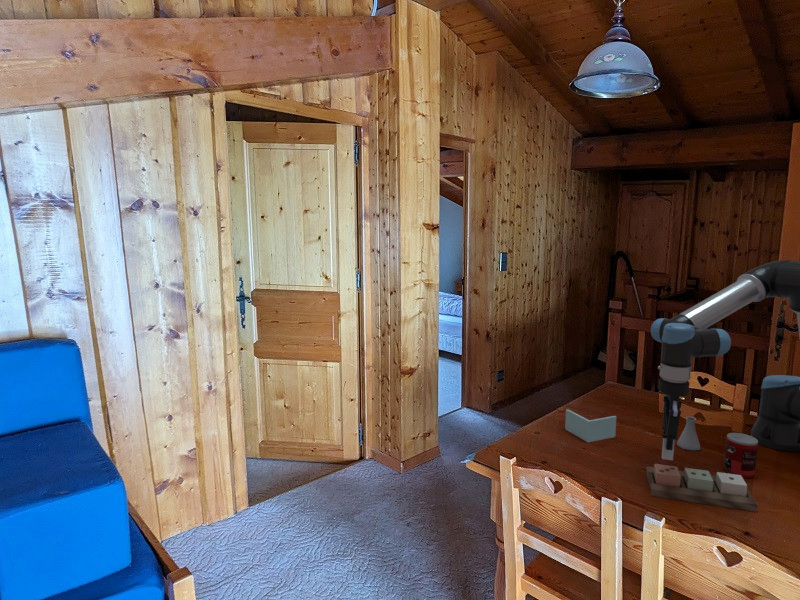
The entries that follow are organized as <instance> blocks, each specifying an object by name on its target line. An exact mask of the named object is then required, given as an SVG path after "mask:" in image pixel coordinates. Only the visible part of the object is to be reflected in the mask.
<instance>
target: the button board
mask: <svg viewBox="0 0 800 600" xmlns="http://www.w3.org/2000/svg"><path fill="white" fill-rule="evenodd" d="M678 471H679V473H680V476H681V479H680V487H675V486H668V485H662V484H656V483H655V478H654V466H647V465H646V467H645V474H646V478H647V482H648V486H649V487H648V488H649V491H650V495H651V497H658V498H663V499H670V500H671V499H672V500H675V501H676V500H677V501H683V502H690V503H697V504H703V505H710V506H716V507H723V508H730V509H735V510H741V511H742V510H743V511H750V512H755V513H757V512H758V511H757V510H758V503H757V502H756V500H755V498H754V497H753V495H752V493H751V491H750V490H749V488H748V487H747V494H746V497H744V496H738V495H731V494H724V493H720V491H719V489H718V487H717V484H716V475H715V474H713V475H712V474H710V475H711V477H712V479H713V491H712V492H710V491H703V490H696V489H689V488H688V487H687V485H686V482H685V479H684V472H685V470H678Z"/></svg>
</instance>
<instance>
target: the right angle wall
mask: <svg viewBox="0 0 800 600" xmlns="http://www.w3.org/2000/svg"><path fill="white" fill-rule="evenodd" d="M564 424H565V425H564V430H565V431H567V432H569V433H570V434H573V435H574V436H576V437H578V438H580V439H581V440H583V441H585V442H586V443H591V442H592V443H593V442H596V441H597V442H598V441H602V440H605V439H606V440H607V439H612V438H615V437H616V434H617V433H616V431H617V416H616V415H612V416H611V415H610V416H606V417H601V418H594V419H591V420H590V419H588V418H586V417H584V416H582V415H580V414H578V413H576V412H574V411H572V410H570V409H565V422H564Z"/></svg>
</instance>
